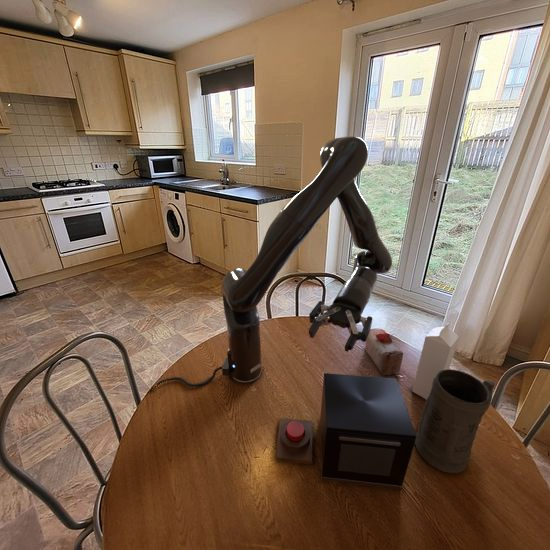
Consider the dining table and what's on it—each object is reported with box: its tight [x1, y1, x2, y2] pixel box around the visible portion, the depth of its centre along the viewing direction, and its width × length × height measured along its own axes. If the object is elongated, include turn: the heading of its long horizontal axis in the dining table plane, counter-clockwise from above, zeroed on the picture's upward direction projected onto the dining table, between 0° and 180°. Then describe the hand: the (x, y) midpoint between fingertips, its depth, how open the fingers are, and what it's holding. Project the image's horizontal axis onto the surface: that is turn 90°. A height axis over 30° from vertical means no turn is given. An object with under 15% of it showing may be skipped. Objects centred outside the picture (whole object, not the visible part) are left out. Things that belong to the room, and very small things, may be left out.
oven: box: [319, 372, 417, 490], centre depth 63 cm, size 16×14×16 cm
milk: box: [411, 321, 460, 401], centre depth 77 cm, size 6×6×22 cm
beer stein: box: [414, 369, 496, 474], centre depth 63 cm, size 15×11×20 cm
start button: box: [287, 421, 304, 442], centre depth 67 cm, size 4×4×2 cm
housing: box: [275, 417, 313, 465], centre depth 68 cm, size 8×10×3 cm
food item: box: [364, 328, 404, 376], centre depth 92 cm, size 14×8×10 cm, turn 9°
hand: (328, 342), depth 66 cm, fingers open, 8 cm apart
